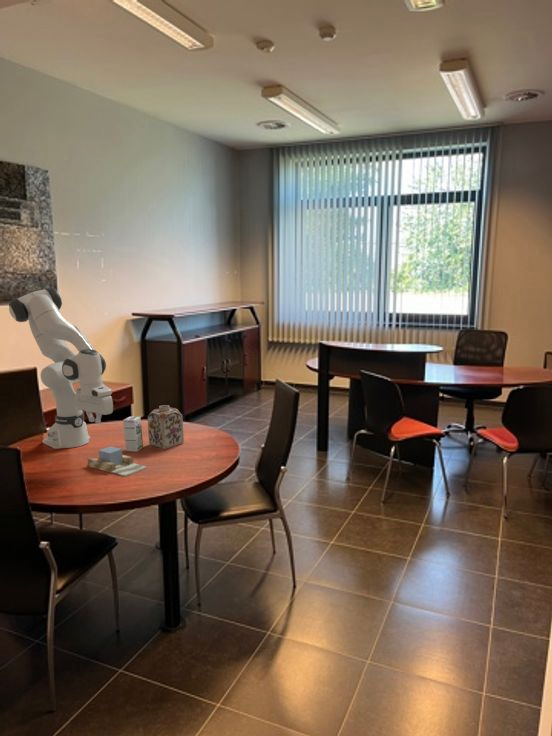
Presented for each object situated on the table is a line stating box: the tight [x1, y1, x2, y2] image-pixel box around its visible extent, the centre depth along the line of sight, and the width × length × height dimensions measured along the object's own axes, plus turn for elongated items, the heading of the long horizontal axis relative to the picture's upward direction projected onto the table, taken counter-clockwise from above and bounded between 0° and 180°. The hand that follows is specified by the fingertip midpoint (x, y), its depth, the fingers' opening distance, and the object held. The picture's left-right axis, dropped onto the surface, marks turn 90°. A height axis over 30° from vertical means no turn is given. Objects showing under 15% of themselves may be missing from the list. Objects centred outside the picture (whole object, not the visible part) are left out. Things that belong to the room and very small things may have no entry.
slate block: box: [98, 445, 123, 466], centre depth 217 cm, size 7×6×6 cm
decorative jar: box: [147, 404, 185, 450], centre depth 243 cm, size 12×12×18 cm
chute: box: [87, 454, 148, 477], centre depth 216 cm, size 23×11×3 cm, turn 56°
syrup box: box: [122, 415, 144, 452], centre depth 237 cm, size 6×6×14 cm
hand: (94, 422), depth 220 cm, fingers open, 3 cm apart
